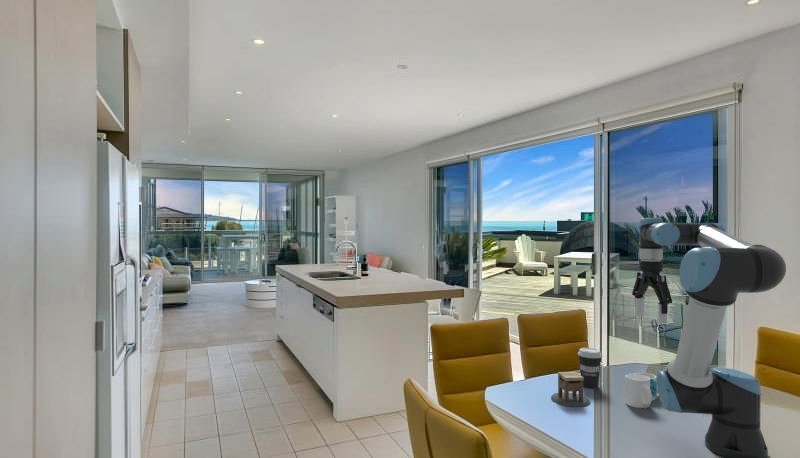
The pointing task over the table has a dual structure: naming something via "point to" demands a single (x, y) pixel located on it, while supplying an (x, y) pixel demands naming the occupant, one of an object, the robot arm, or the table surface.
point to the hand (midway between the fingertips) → (650, 319)
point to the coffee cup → (590, 366)
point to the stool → (570, 385)
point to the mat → (570, 400)
